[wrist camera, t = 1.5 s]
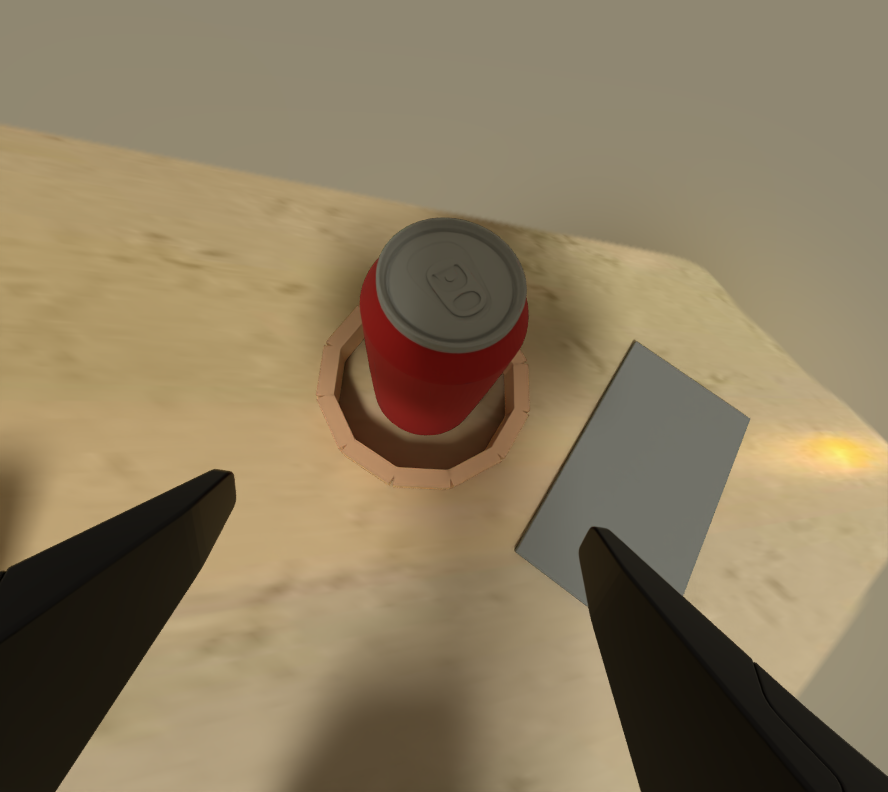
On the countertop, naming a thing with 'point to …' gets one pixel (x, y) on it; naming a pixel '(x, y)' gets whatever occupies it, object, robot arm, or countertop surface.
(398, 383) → the beverage can
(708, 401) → the mat
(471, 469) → the segmented polygon ring
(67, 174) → the countertop surface
